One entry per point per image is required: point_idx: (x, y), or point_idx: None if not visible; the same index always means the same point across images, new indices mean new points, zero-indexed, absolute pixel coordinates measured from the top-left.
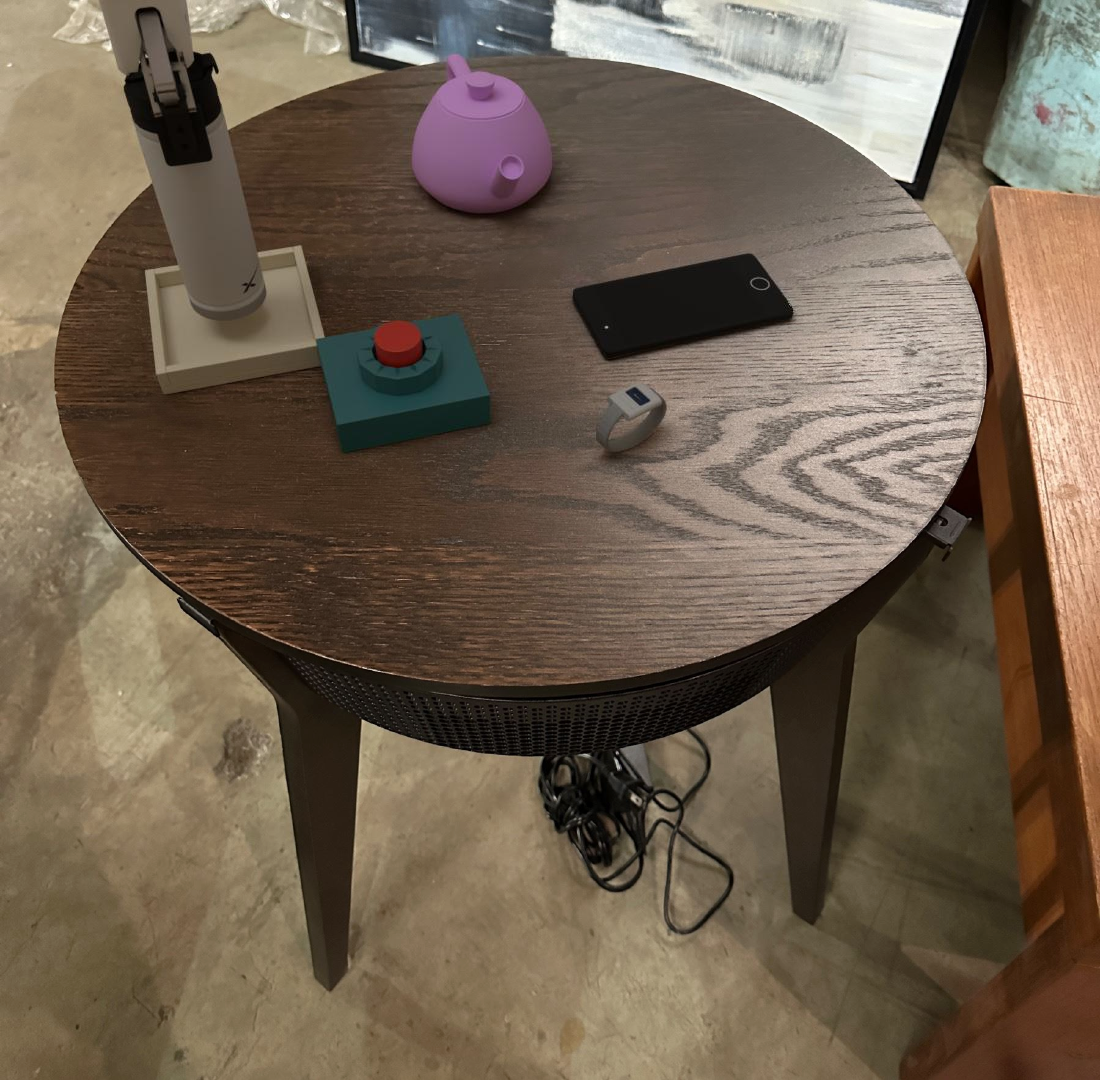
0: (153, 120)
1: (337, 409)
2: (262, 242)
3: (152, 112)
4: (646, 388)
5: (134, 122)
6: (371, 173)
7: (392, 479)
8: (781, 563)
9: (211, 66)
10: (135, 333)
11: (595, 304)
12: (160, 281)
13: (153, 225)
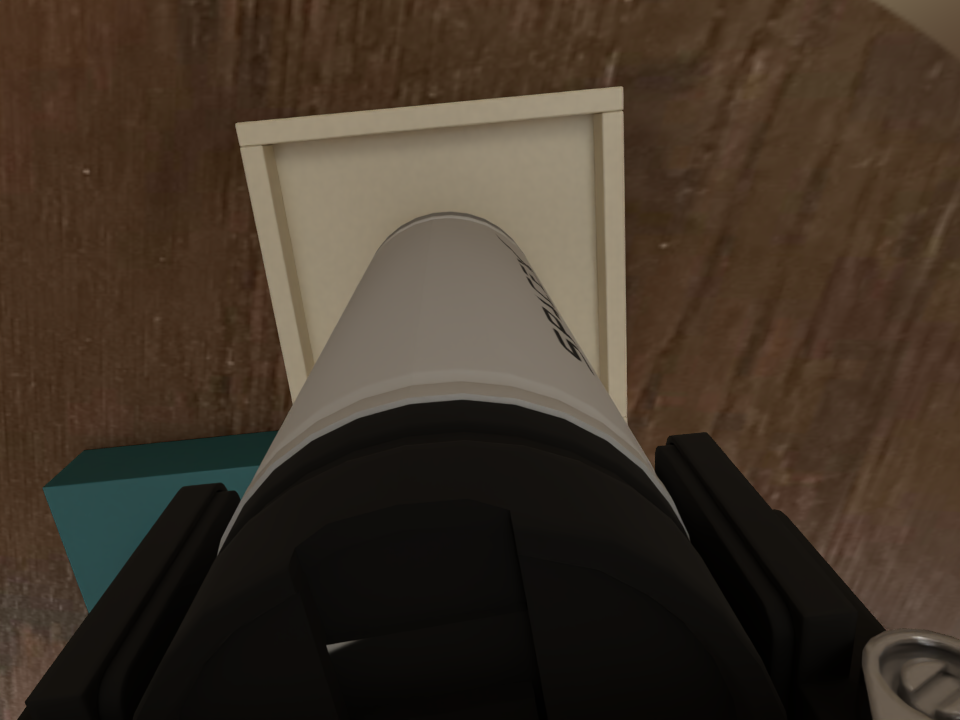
0: (58, 660)
1: (84, 490)
2: (715, 332)
3: (44, 707)
4: None
5: (370, 412)
6: (873, 540)
7: (25, 518)
8: None
9: None
10: (465, 52)
11: None
12: (596, 120)
13: (857, 87)
